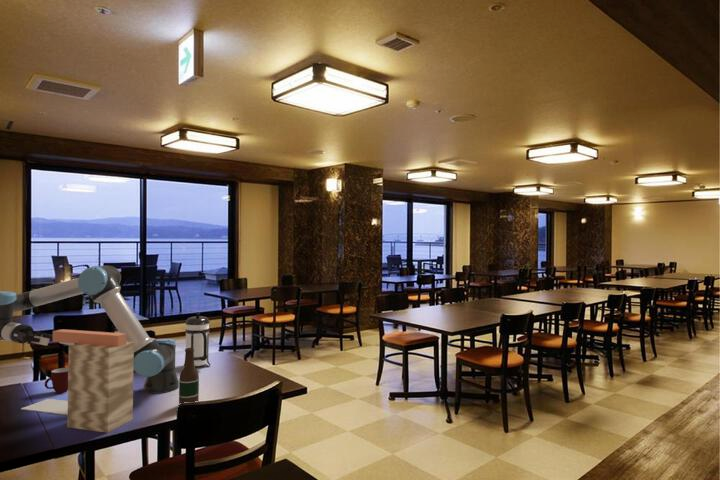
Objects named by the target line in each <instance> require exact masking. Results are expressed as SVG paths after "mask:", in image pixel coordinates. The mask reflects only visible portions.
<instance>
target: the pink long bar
mask: <svg viewBox="0 0 720 480" xmlns="http://www.w3.org/2000/svg"><path fill="white" fill-rule="evenodd" d="M52 335H53V343H59V342H65V343H74V344H91V345H104V346H116V347H118V346H122V345H125V344H126V334H124V333H120V332H108V331H107V332H106V331H96V330H95V331H92V330H77V329H63V328H62V329H57V330H52Z"/></svg>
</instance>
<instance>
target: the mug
mask: <svg viewBox="0 0 720 480" xmlns="http://www.w3.org/2000/svg"><path fill="white" fill-rule="evenodd" d="M50 374H51V375H50V377H48V378H47V379H45V380H44V381H45V382H44V387H45V388H46V389H48V390H54V391H55V393H56V394H65V393H68V367H61V368H56V369H52V370H51V373H50ZM49 381H51V385H52V386H48V383H49Z"/></svg>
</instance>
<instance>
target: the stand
mask: <svg viewBox="0 0 720 480" xmlns="http://www.w3.org/2000/svg"><path fill="white" fill-rule="evenodd" d="M133 367H134V342H127V341H126V344H125V345H122V346H118V347H116V346H104V345H91V344H78V343H74V345H68V367H67V368H68V390H67V401H68V415H66V417H67V418H66V419H67V423H66V425H67V426H66V427H67V428H71V429H78V430H84V431H85V430H86V431H91V432H92V431H93V432H99V433H100V432H102V433H111V432H112V431H114V430H116V429H117V428H120V427H122V426H123V425H125V424H128V423H130V422H131V421H133V419H134V416H133V415H134V413H133V412H134V368H133Z"/></svg>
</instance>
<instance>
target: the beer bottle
mask: <svg viewBox="0 0 720 480" xmlns="http://www.w3.org/2000/svg"><path fill="white" fill-rule="evenodd" d="M184 352H185V354H184V363H185V365H184V364H183V368H182V369H181V371H180V374H179V378H178V380H179V387H178V389H179V390H178V405H179V404H180V403H184V402H195V401H198V402H199V398H200V394H199V390H200V389H199V388H200V384H199V382H200V377H199V372H198V370H197V368H196V366H194V348H186V347H185V349H184Z"/></svg>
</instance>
